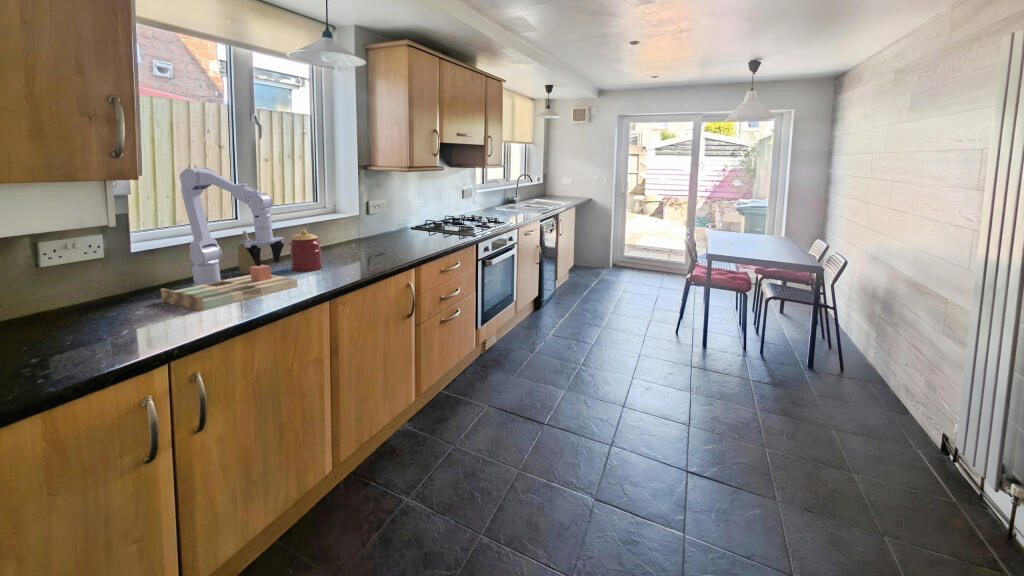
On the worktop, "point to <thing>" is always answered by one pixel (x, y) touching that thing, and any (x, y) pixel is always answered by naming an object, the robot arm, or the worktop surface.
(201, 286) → the board
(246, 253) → the squeeze bottle
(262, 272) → the block
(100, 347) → the worktop surface
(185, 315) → the worktop surface
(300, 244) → the canister
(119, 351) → the worktop surface
